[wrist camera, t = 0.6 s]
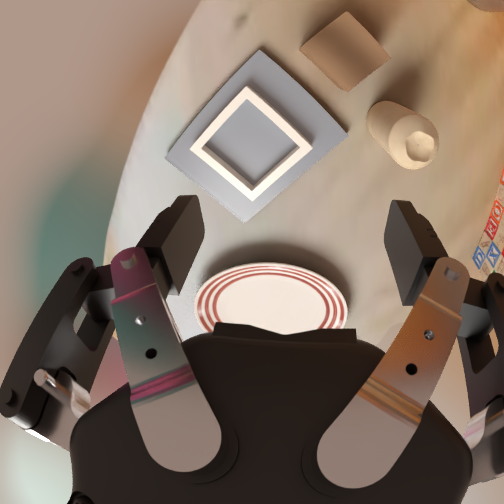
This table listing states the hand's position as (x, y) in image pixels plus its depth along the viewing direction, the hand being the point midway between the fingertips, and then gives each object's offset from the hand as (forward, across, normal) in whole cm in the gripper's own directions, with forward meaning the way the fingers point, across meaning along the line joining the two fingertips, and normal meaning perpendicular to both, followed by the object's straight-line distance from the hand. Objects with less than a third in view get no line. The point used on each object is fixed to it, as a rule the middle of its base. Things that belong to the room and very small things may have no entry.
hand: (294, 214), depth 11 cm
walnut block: (+23, -5, -7) cm, 25 cm away
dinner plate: (+23, +4, +34) cm, 41 cm away
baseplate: (+23, +5, +4) cm, 24 cm away
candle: (+23, -11, +1) cm, 26 cm away
